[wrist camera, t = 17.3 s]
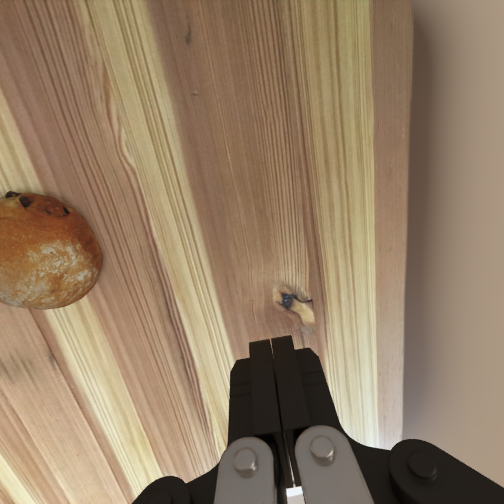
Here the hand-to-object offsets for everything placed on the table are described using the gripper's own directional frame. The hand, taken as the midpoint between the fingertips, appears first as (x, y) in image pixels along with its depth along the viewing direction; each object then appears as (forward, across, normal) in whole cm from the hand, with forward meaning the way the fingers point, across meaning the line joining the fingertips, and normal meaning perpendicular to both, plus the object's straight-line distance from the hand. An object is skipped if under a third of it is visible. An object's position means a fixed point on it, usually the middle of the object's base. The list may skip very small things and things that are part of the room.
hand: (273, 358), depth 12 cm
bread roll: (+19, +19, 0) cm, 27 cm away
